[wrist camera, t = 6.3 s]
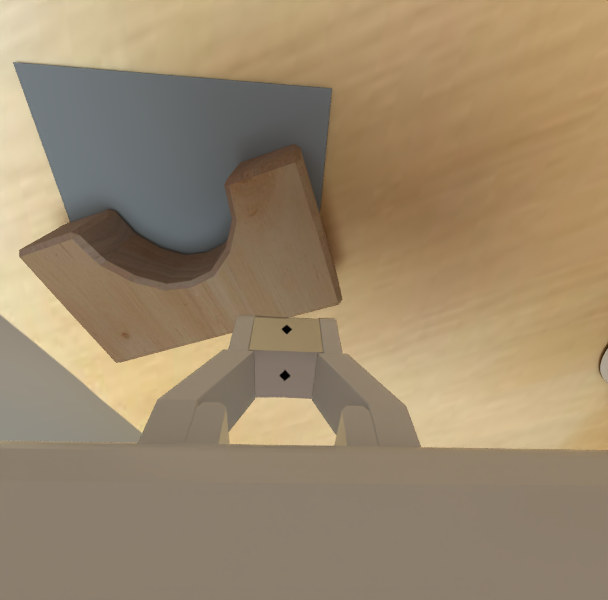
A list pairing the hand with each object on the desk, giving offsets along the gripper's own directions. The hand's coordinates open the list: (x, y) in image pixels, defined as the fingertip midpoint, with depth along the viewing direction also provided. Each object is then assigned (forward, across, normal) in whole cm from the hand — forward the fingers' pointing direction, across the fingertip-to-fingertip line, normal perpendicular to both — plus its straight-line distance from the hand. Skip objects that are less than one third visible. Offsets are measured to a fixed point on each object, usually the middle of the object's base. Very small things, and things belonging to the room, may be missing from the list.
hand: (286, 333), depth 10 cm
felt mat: (+17, +8, 0) cm, 19 cm away
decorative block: (+14, -3, +1) cm, 15 cm away
